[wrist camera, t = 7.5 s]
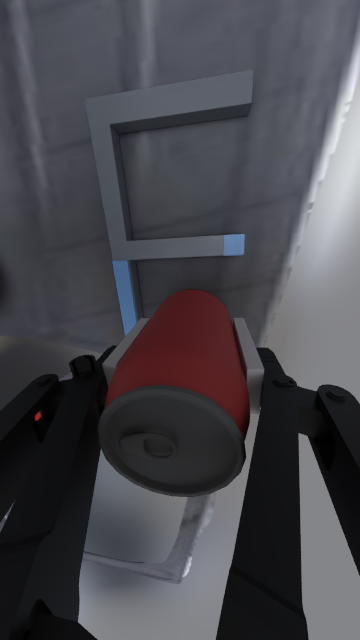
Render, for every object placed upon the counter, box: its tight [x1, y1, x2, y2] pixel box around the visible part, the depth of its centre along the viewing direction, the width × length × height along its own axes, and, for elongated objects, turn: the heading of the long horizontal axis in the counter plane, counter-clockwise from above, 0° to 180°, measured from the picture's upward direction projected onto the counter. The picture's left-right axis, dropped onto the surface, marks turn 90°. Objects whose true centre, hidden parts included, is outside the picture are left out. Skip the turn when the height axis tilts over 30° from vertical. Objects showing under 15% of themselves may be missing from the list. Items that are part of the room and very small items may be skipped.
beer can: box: [97, 289, 250, 497], centre depth 13 cm, size 7×7×12 cm
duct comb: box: [84, 70, 253, 336], centre depth 23 cm, size 26×14×2 cm, turn 3°
